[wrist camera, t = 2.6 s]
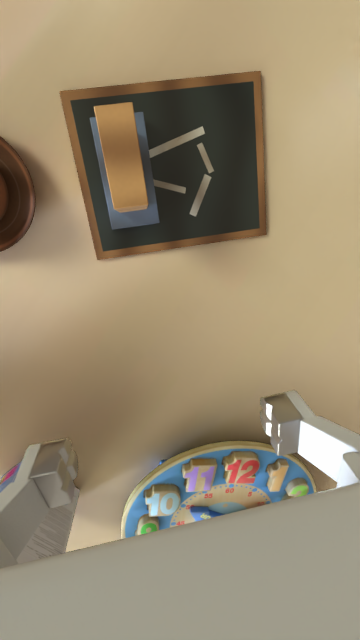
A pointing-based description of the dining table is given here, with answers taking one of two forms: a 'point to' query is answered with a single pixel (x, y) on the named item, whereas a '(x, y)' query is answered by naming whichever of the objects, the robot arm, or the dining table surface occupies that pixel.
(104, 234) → the slate board
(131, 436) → the dining table surface
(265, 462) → the shape sorting clock
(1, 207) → the cup and saucer
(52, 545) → the ink cartridge box
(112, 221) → the eraser
